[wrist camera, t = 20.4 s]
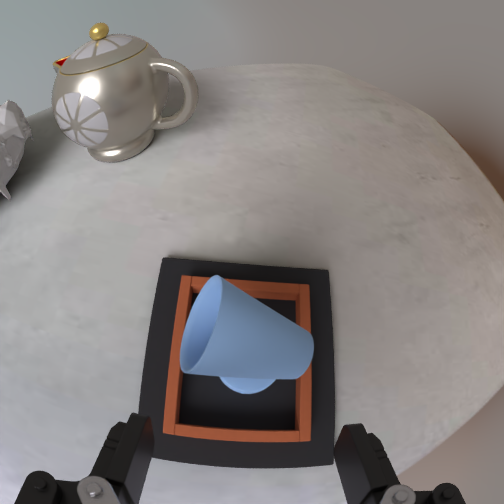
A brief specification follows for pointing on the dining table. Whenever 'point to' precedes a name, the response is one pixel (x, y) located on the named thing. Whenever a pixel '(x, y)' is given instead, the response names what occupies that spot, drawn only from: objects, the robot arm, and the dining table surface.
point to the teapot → (117, 94)
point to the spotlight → (242, 340)
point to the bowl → (11, 141)
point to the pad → (225, 399)
